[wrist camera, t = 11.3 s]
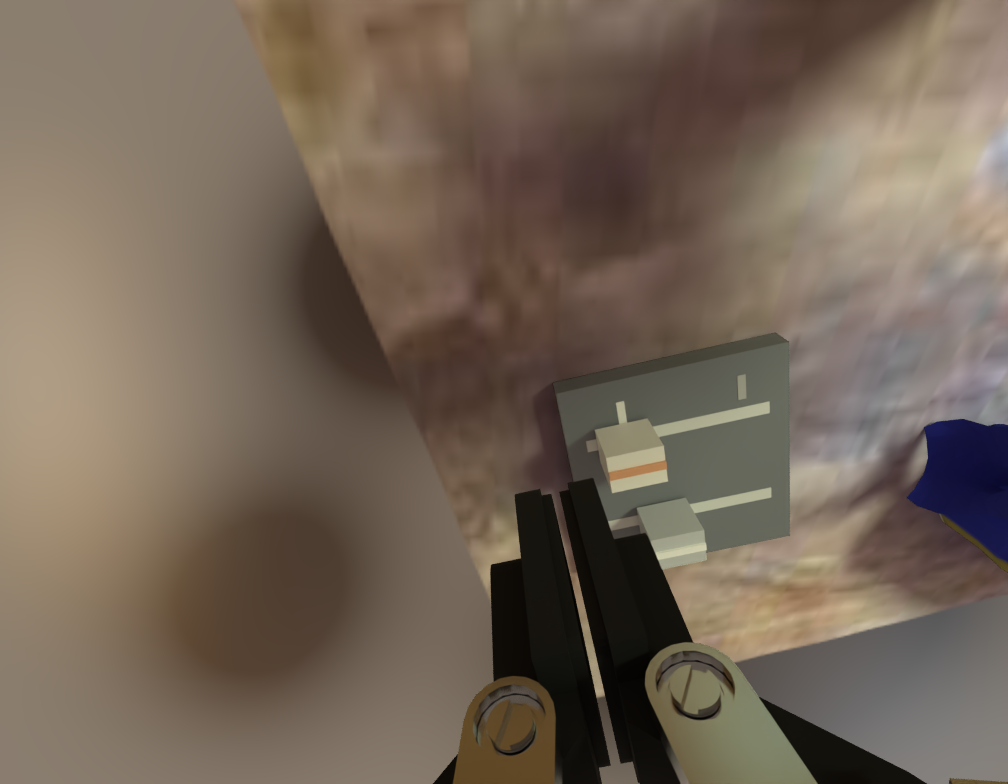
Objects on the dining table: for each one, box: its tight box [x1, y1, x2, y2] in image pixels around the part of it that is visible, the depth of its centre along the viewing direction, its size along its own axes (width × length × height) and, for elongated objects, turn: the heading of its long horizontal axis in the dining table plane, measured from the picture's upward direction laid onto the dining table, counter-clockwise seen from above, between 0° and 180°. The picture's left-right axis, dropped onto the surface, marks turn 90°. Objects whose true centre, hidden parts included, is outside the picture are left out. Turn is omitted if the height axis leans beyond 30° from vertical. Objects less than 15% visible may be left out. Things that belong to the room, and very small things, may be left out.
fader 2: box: [637, 498, 707, 569], centre depth 43 cm, size 4×3×4 cm
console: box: [553, 333, 790, 553], centre depth 44 cm, size 17×18×2 cm
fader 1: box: [595, 418, 668, 493], centre depth 40 cm, size 4×3×4 cm
